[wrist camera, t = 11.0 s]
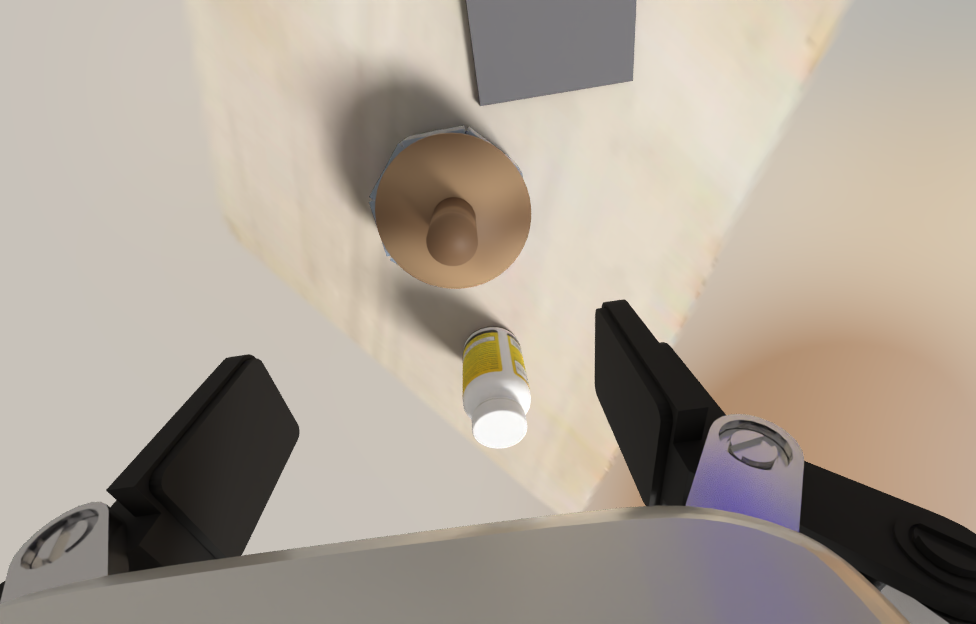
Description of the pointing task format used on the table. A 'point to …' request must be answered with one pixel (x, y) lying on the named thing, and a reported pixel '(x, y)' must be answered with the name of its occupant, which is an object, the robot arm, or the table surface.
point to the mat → (549, 46)
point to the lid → (453, 210)
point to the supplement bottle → (495, 387)
